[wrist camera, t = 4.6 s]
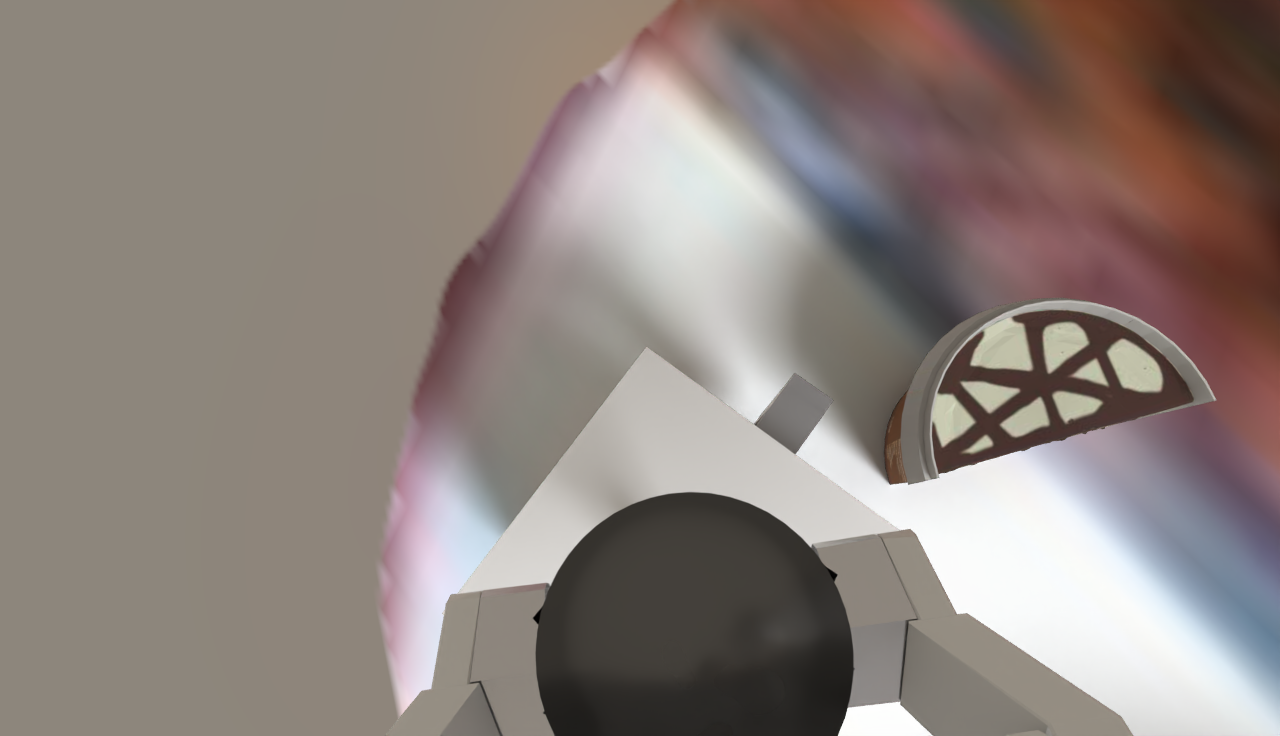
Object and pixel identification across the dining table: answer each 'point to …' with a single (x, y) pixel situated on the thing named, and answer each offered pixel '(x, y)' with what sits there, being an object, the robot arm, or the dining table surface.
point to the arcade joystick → (675, 470)
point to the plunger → (694, 627)
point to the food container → (1033, 384)
